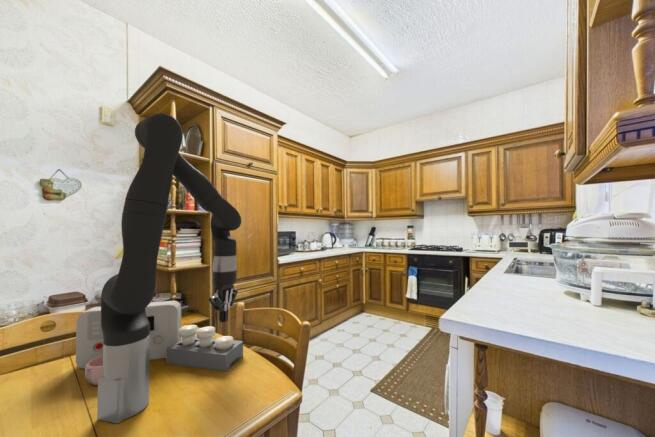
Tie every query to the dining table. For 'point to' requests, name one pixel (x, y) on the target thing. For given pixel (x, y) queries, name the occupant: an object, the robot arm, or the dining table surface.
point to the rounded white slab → (162, 331)
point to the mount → (204, 355)
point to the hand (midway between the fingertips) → (223, 321)
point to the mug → (94, 370)
